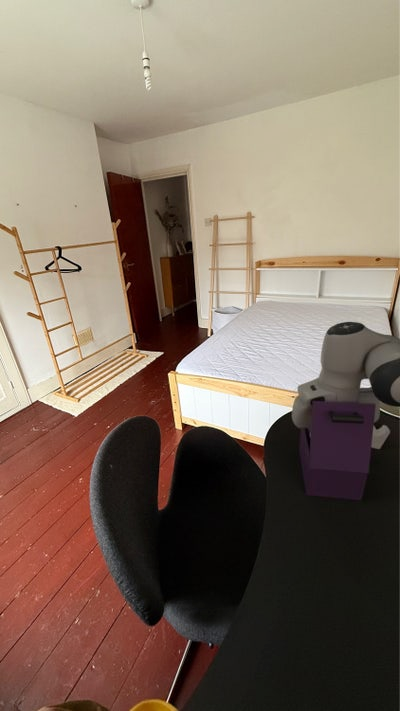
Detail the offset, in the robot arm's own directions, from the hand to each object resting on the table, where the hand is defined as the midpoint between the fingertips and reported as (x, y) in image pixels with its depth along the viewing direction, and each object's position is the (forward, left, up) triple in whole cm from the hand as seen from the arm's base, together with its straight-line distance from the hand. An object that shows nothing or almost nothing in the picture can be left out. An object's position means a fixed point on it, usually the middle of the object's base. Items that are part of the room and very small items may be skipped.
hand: (332, 436), depth 75 cm
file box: (+1, +1, -11) cm, 11 cm away
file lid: (+2, +7, +6) cm, 9 cm away
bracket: (-15, -13, -11) cm, 23 cm away
